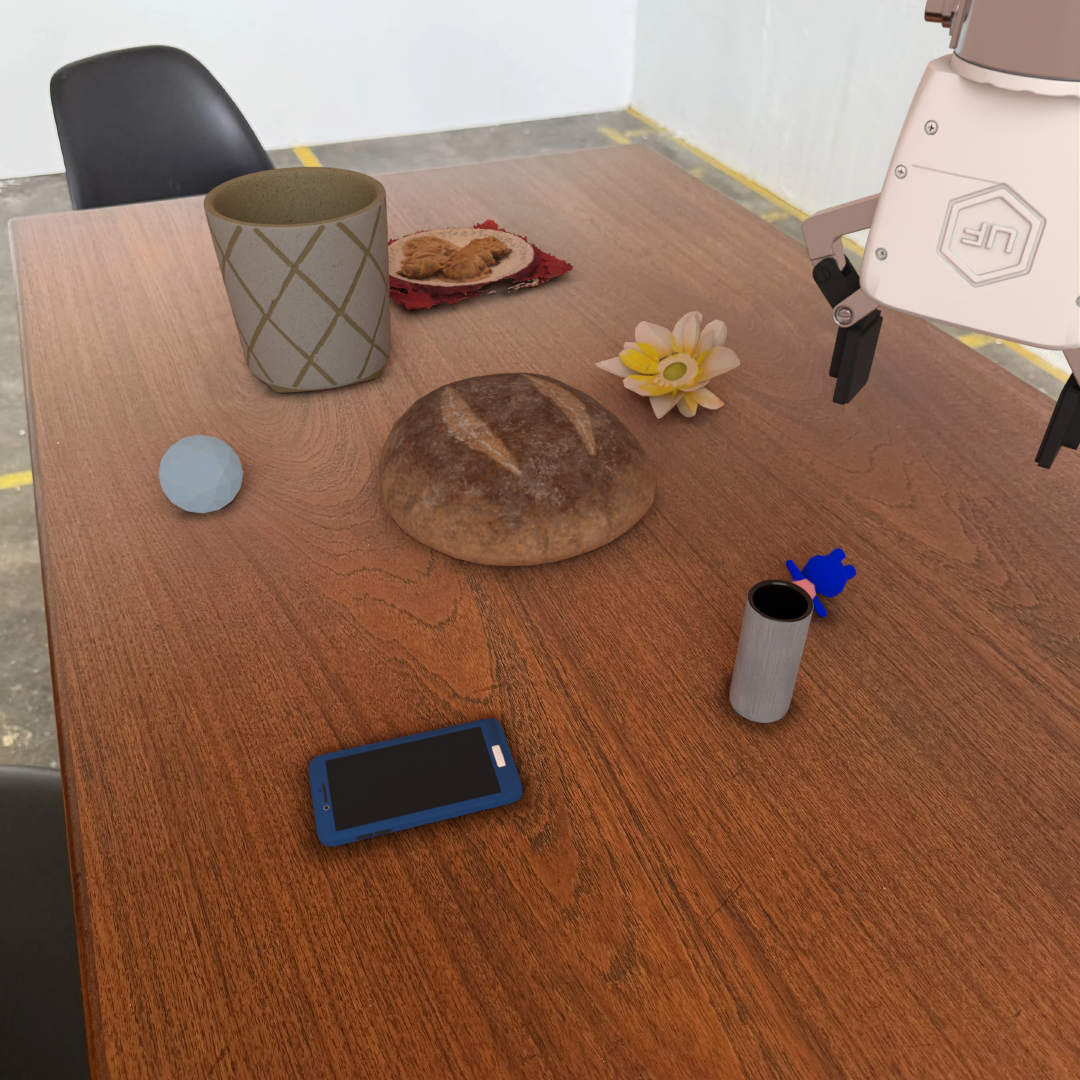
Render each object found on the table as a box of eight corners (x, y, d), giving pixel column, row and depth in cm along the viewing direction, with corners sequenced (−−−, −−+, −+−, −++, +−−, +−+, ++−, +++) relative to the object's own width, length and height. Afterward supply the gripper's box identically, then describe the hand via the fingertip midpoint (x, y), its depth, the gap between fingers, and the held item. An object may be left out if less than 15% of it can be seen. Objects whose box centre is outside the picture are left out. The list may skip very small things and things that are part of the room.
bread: (439, 615, 81) (431, 521, 74) (347, 455, 99) (335, 370, 93) (703, 534, 89) (715, 444, 83) (573, 402, 108) (575, 320, 102)
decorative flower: (576, 364, 111) (600, 283, 106) (654, 364, 117) (681, 287, 111) (642, 434, 102) (673, 349, 96) (724, 431, 107) (758, 350, 102)
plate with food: (575, 280, 135) (576, 256, 133) (410, 317, 124) (408, 292, 122) (491, 229, 151) (490, 207, 149) (337, 258, 140) (335, 235, 138)
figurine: (853, 598, 82) (865, 555, 79) (801, 641, 78) (811, 597, 75) (807, 572, 85) (817, 529, 82) (754, 612, 81) (762, 569, 78)
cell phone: (526, 800, 66) (526, 793, 65) (319, 851, 63) (318, 844, 62) (498, 721, 71) (498, 714, 71) (307, 764, 68) (306, 757, 68)
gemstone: (161, 443, 95) (155, 432, 90) (243, 442, 97) (241, 431, 92) (164, 520, 94) (158, 513, 90) (246, 518, 96) (244, 510, 92)
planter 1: (417, 386, 111) (403, 214, 98) (247, 414, 106) (210, 236, 93) (382, 317, 125) (366, 159, 113) (231, 339, 120) (197, 175, 108)
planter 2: (784, 730, 71) (809, 628, 65) (723, 714, 72) (741, 612, 66) (793, 688, 74) (818, 587, 68) (735, 673, 75) (753, 572, 69)
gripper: (808, 21, 38) (748, 401, 49) (1329, 86, 30) (1122, 523, 41) (876, -6, 43) (808, 346, 53) (1341, 45, 35) (1153, 445, 46)
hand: (944, 422), depth 47 cm, fingers open, 9 cm apart
